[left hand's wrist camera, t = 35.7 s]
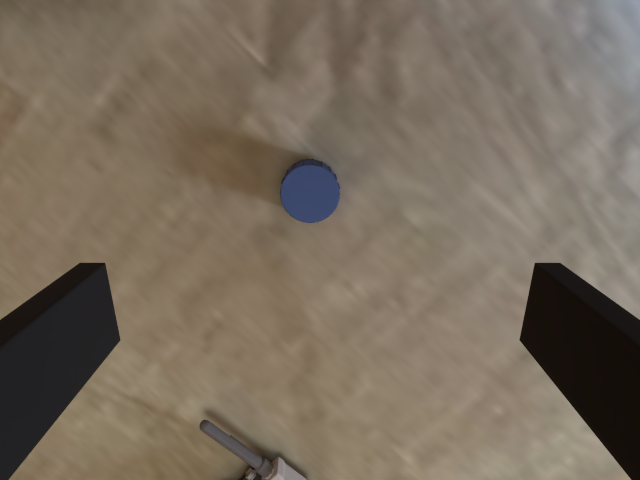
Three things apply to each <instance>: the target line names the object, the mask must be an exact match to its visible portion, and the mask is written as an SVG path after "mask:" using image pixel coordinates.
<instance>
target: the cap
mask: <svg viewBox="0 0 640 480" xmlns="http://www.w3.org/2000/svg"><path fill="white" fill-rule="evenodd" d="M281 184H282V186H281V191H280V195H281V201H282V204H283V206H284V208H285V210H286V211H287V212H288V214H289V215H291V216H292V217H293V218H295V219H297V220H299V221H302V222H306V223H314V222H319V221H321V220H324V219H325V218H327V217H328V216H330V215H331V214H332V213H333V211H334V210H335V209H336V207H337V204H338V202H339V198H340V197H339V195H340V193H339V189H340V187H339V184H338V183H337V178H336V175H335V174H334V173H333V171H332V170H331V169H330V167H328V166H327V165H326V164H324V163H323V162H322V161H321V162H320V161H317V160H313V159H312V160H303V161H300V162H298V163H296V164H295V163H294V165H293V166H292V167H291V168H290V169H289V170H287V173H286V175H285V177H284V178H283V180H282V183H281Z"/></svg>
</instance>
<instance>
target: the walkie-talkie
mask: <svg viewBox="0 0 640 480" xmlns="http://www.w3.org/2000/svg"><path fill="white" fill-rule="evenodd" d="M200 429H201V431H203V432H204V433H206V434H207V435H208V436H210V437H211V438H213V439H214V440H215V441H217V442H218V443H220V444H221V445H222V446H224V447H225V448H227V449H228V450H229V451H231V452H232V453H234V454H235V455H236V456H238V457H239V458H241V459H242V460H244V461H245V462H246V463H248V464H249V465H251V466H252V467H253V468H255V470H252V469H251V468H250V469H249V470H248V471H247V472H246V475H247V476H245V478H244V479H242V480H307V479H306V478H304V477H303V476H302V475H300V474H299V473H298V472H296V471H295V470H293V469H292V468H291V467H289V466H288V465H287V464H285V462H284V460H282V459H281V458H280V457H277V458H276V459H275V460H273V461H272V462H270V461H268V460H267V459H266V458H264V457H260V456H259V455H258V454H256V453H255V452H253V451H252V450H251V449H249V448H248V447H247V446H245V445H244V444H242V443H241V442H240V441H238V440H237V439H236V438H234V437H233V436H231V435H230V436H229V435H228V434H226V433H225V432H223V431H222V430H221V429H219V428H218V427H216V426H215V425H214V424H212V423H211V422H209V421H207V420H203V421H202V422H201V423H200Z"/></svg>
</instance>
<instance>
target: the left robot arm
mask: <svg viewBox="0 0 640 480" xmlns="http://www.w3.org/2000/svg"><path fill="white" fill-rule="evenodd" d="M119 341H120V336H119V331H118V326H117V321H116V316H115V311H114V306H113V301H112V296H111V290H110V285H109V280H108V275H107V270H106V265H105V263H79V264H78V265H76V266H75V267H74V268H72V269H71V270H69V271H68V272H67V273H65V274H64V275H62V276H61V277H60V278H58V279H57V280H55V281H54V282H53V283H51V284H50V285H49V286H47V287H46V288H44V289H43V290H42V291H40V292H39V293H37V294H36V295H35V296H33V297H32V298H30V299H29V300H28V301H26V302H25V303H23V304H22V305H21V306H19V307H18V308H16V309H15V310H14V311H12V312H11V313H9V314H8V315H7V316H5V317H4V318H2V319H1V320H0V480H9V478H10V477H11V476H12V475H13V473H14V472H15V471H16V470H17V468H18V467H19V466H20V465H21V463H22V462H23V461H24V460H25V458H26V457H27V456H28V455H29V453H30V452H31V451H32V450H33V448H34V447H35V446H36V445H37V443H38V442H39V441H40V440H41V438H42V437H43V436H44V435H45V433H46V432H47V431H48V430H49V428H50V427H51V426H52V425H53V423H54V422H55V421H56V420H57V418H58V417H59V416H60V415H61V413H62V412H63V411H64V410H65V409H66V407H67V406H68V405H69V404H70V402H71V401H72V400H73V399H74V397H75V396H76V395H77V394H78V392H79V391H80V390H81V389H82V387H83V386H84V385H85V384H86V382H87V381H88V380H89V379H90V377H91V376H92V375H93V374H94V372H95V371H96V370H97V369H98V367H99V366H100V365H101V364H102V362H103V361H104V360H105V359H106V357H107V356H108V355H109V354H110V352H111V351H112V350H113V349H114V347H115V346H116V345H117V344H118V342H119ZM520 341H521V342H522V344H523V345H524V346H525V347H526V349H527V350H528V351H529V352H530V354H531V355H532V356H533V357H534V359H535V360H536V361H537V362H538V364H539V365H540V366H541V367H542V369H543V370H544V371H545V372H546V374H547V375H548V376H549V377H550V379H551V380H552V381H553V382H554V384H555V385H556V386H557V387H558V389H559V390H560V391H561V392H562V394H563V395H564V396H565V397H566V399H567V400H568V401H569V402H570V404H571V405H572V406H573V407H574V409H575V410H576V411H577V412H578V413H579V415H580V416H581V417H582V418H583V420H584V421H585V422H586V423H587V425H588V426H589V427H590V428H591V430H592V431H593V432H594V433H595V435H596V436H597V437H598V438H599V440H600V441H601V442H602V443H603V445H604V446H605V447H606V448H607V450H608V451H609V452H610V453H611V455H612V456H613V457H614V458H615V460H616V461H617V462H618V463H619V465H620V466H621V467H622V468H623V470H624V471H625V472H626V473H627V475H628V476H629V477H630V478H631V480H640V320H639V319H638V318H636V317H635V316H633V315H632V314H631V313H629V312H628V311H626V310H625V309H624V308H622V307H621V306H619V305H618V304H617V303H615V302H614V301H612V300H611V299H610V298H608V297H607V296H605V295H604V294H603V293H601V292H600V291H598V290H597V289H596V288H594V287H593V286H591V285H590V284H589V283H587V282H586V281H585V280H583V279H582V278H580V277H579V276H578V275H576V274H575V273H573V272H572V271H571V270H569V269H568V268H566V267H565V266H564V265H562V264H561V263H535V265H534V270H533V275H532V280H531V285H530V290H529V296H528V301H527V306H526V311H525V316H524V321H523V326H522V331H521V336H520Z"/></svg>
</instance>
